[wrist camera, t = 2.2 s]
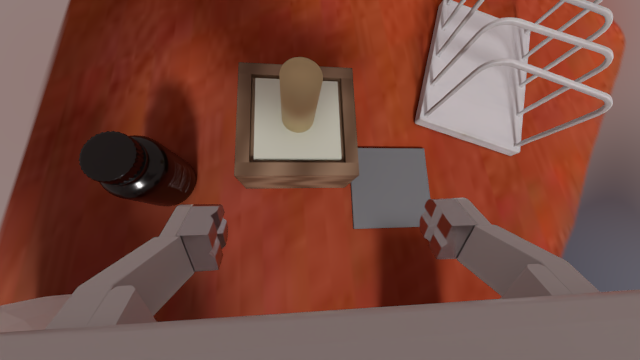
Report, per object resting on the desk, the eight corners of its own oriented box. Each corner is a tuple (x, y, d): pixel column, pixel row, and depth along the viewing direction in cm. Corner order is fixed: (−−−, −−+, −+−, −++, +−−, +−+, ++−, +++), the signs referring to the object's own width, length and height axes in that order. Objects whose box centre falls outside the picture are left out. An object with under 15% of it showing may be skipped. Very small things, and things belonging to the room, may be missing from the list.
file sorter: (509, 157, 41) (637, 113, 26) (412, 124, 40) (486, 59, 25) (522, 37, 47) (632, -55, 32) (437, 6, 46) (509, -104, 31)
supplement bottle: (170, 148, 35) (111, 105, 23) (208, 178, 35) (167, 150, 23) (131, 185, 33) (46, 160, 21) (171, 217, 33) (106, 209, 21)
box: (246, 188, 35) (234, 175, 27) (248, 97, 38) (238, 62, 30) (344, 187, 37) (359, 175, 29) (339, 100, 40) (352, 68, 32)
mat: (353, 228, 36) (354, 228, 35) (348, 148, 38) (349, 147, 38) (432, 226, 37) (433, 226, 37) (422, 149, 40) (423, 148, 39)
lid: (254, 160, 29) (240, 128, 20) (256, 82, 31) (243, 23, 22) (339, 160, 30) (360, 131, 21) (336, 86, 32) (353, 31, 23)
